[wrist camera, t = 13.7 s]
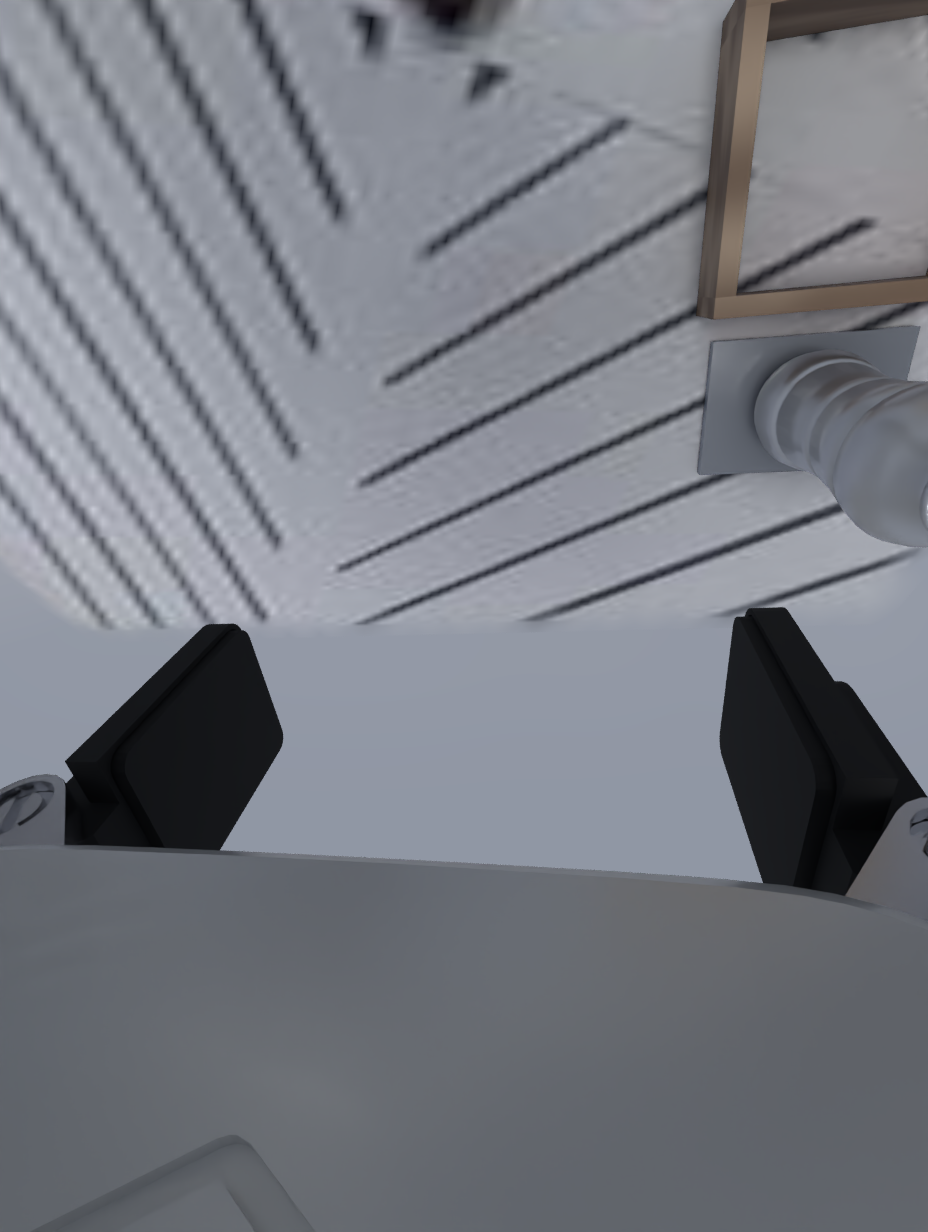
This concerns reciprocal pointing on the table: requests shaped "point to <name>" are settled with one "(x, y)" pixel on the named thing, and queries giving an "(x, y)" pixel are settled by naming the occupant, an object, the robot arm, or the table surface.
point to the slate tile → (746, 370)
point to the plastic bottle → (853, 438)
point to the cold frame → (762, 11)
